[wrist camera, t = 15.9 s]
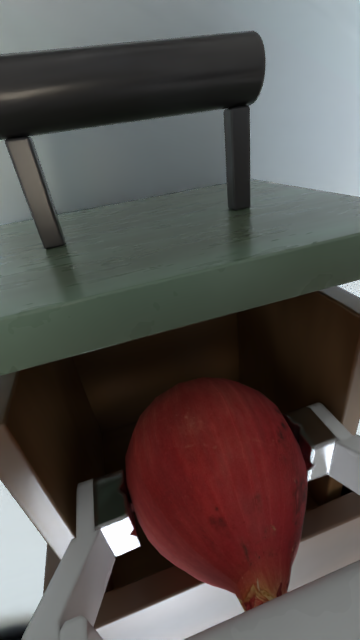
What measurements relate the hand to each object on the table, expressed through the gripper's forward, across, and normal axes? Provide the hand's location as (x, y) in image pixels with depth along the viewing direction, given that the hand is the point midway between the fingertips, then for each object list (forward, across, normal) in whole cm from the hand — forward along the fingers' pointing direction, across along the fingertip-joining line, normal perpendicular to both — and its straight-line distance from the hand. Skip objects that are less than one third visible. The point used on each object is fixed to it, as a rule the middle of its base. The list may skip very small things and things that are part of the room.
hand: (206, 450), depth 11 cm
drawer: (+9, 0, -3) cm, 9 cm away
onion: (+3, 0, 0) cm, 3 cm away
